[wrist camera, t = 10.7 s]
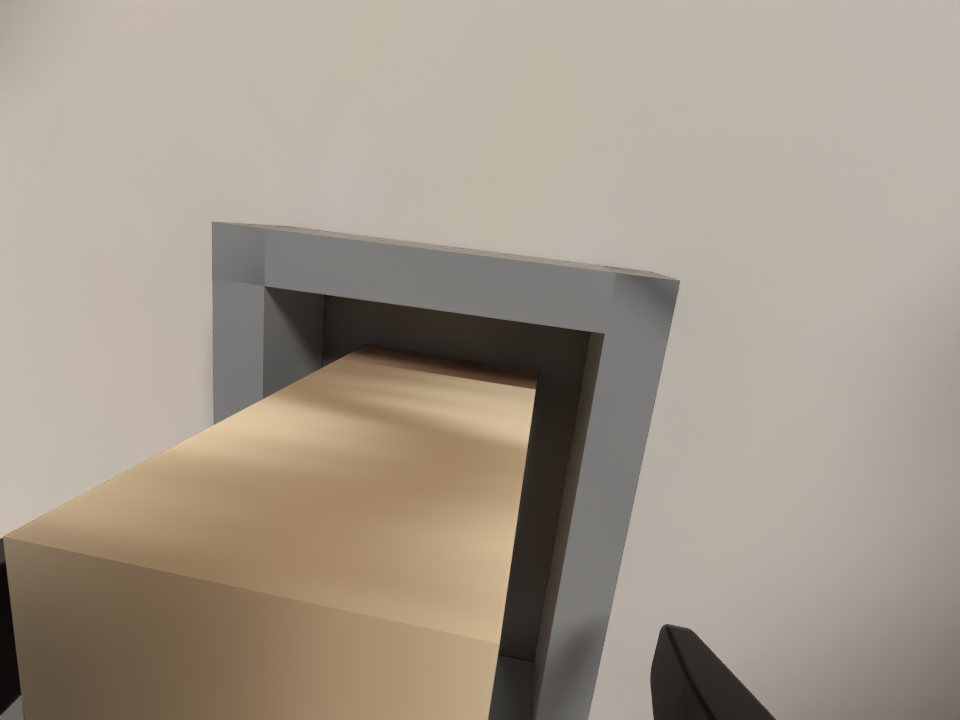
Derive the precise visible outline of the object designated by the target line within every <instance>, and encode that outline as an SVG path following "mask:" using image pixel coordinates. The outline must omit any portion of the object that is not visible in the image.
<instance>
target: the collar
mask: <svg viewBox="0 0 960 720" xmlns="http://www.w3.org/2000/svg"><path fill="white" fill-rule="evenodd" d="M212 280H213V390H214V425H215V424H217V423H219V422H221V421H223V420H224V419H226V418H228V417H230V416H232V415H234V414H236V413H238V412H240V411H241V410H243V409H245V408H247V407H249V406H251V405H253V404H255V403H257V402H258V401H260V400H262V399H264V398H266V397H268V396H270V395H272V394H274V393H276V392H277V391H279V390H281V389H283V388H285V387H287V386H289V385H291V384H293V383H294V382H296V381H298V380H300V379H302V378H304V377H306V376H308V375H310V374H312V373H313V372H315V371H317V370H319V369H321V368H322V352H323V329H324V307H325V295H332V296H339V297H346V298H353V299H360V300H368V301H375V302H382V303H389V304H396V305H403V306H410V307H418V308H425V309H432V310H439V311H446V312H453V313H460V314H468V315H475V316H482V317H489V318H496V319H503V320H511V321H518V322H525V323H532V324H539V325H546V326H553V327H561V328H568V329H575V330H582V331H589V332H591V335H590V341H589V347H588V352H587V358H586V364H585V370H584V376H583V381H582V387H581V393H580V399H579V405H578V410H577V416H576V422H575V428H574V433H573V439H572V445H571V451H570V457H569V462H568V468H567V474H566V480H565V486H564V491H563V497H562V503H561V509H560V515H559V520H558V526H557V532H556V538H555V544H554V549H553V555H552V561H551V567H550V573H549V578H548V584H547V590H546V596H545V601H544V607H543V613H542V619H541V625H540V630H539V636H538V642H537V648H536V654H535V659H534V663H533V662H529V661H524V660H519V659H515V658H510V657H506V656H501V655H498V658H497V664H496V671H495V677H494V684H493V690H492V697H491V703H490V709H489V716H488V720H588V717H589V712H590V707H591V703H592V698H593V693H594V688H595V684H596V679H597V674H598V669H599V665H600V660H601V655H602V650H603V646H604V641H605V636H606V631H607V626H608V622H609V617H610V612H611V607H612V603H613V598H614V593H615V588H616V584H617V579H618V574H619V569H620V565H621V560H622V555H623V550H624V546H625V541H626V536H627V531H628V527H629V522H630V517H631V512H632V508H633V503H634V498H635V493H636V489H637V484H638V479H639V474H640V470H641V465H642V460H643V455H644V451H645V446H646V441H647V436H648V432H649V427H650V422H651V417H652V413H653V408H654V403H655V398H656V393H657V389H658V384H659V379H660V374H661V370H662V365H663V360H664V355H665V351H666V346H667V341H668V336H669V332H670V327H671V322H672V317H673V313H674V308H675V303H676V298H677V294H678V289H679V284H680V280H676V279H673V278H670V277H667V276H663V275H660V274H657V273H653V272H648V271H640V270H632V269H624V268H616V267H608V266H600V265H592V264H584V263H576V262H568V261H560V260H552V259H544V258H535V257H527V256H519V255H511V254H503V253H495V252H487V251H479V250H471V249H463V248H455V247H447V246H439V245H431V244H423V243H415V242H407V241H399V240H391V239H383V238H375V237H367V236H359V235H351V234H343V233H335V232H327V231H319V230H311V229H303V228H295V227H287V226H273V225H256V224H240V223H224V222H212Z"/></svg>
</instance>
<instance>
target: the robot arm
mask: <svg viewBox="0 0 960 720" xmlns="http://www.w3.org/2000/svg"><path fill="white" fill-rule="evenodd" d="M650 683H651V694H652V705H653V715H654V720H776V719H775V718H774V717H773V716H772V715H771V714H770V712H769V711H768V710H767V709H766V708H765V707H764V706H763V705H762V704H761V703H760V702H759V701H758V700H757V699H756V698H755V696H754V695H753V694H752V693H751V692H750V691H749V690H748V689H747V688H746V687H745V686H744V685H743V684H742V683H741V682H740V680H739V679H738V678H737V677H736V676H735V675H734V674H733V673H732V672H731V671H730V670H729V669H728V668H727V667H726V666H725V664H724V663H723V662H722V661H721V660H720V659H719V658H718V657H717V656H716V655H715V654H714V653H713V652H712V651H711V650H710V648H709V647H708V646H707V645H706V644H705V643H704V642H703V641H702V640H701V639H700V638H699V637H698V636H697V635H696V634H695V633H694V632H693V631H692V630H691V629H688V628H684V627H679V626H674V625H669V624H666V625H664V626H663V627H662V628H661V630H660V633H659V638H658V642H657V646H656V650H655V654H654V658H653V662H652V667H651V676H650ZM20 695H21V687H20V679H19V670H18V662H17V653H16V645H15V636H14V628H13V619H12V610H11V602H10V593H9V585H8V576H7V568H6V559H5V551H4V542H3V538H1V539H0V716H1V715H2V714H3V713H4V712H5V711H6V710H7V709H8V707H9V706H10V705H11V704H12V703H13V702H14V701H15V700H16V699H17V698H18V697H19V696H20Z"/></svg>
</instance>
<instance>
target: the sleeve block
mask: <svg viewBox="0 0 960 720" xmlns="http://www.w3.org/2000/svg"><path fill="white" fill-rule="evenodd" d="M537 378H538V371H534V370H527V369H521V368H514V367H508V366H501V365H495V364H488V363H482V362H475V361H469V360H462V359H456V358H449V357H442V356H436V355H429V354H423V353H416V352H410V351H403V350H397V349H390V348H384V347H377V346H371V345H365V346H363V347H361V348H359V349H357V350H355V351H353V352H351V353H349V354H347V355H346V356H344V357H342V358H340V359H338V360H336V361H334V362H332V363H330V364H329V365H327V366H325V367H323V368H321V369H319V370H317V371H315V372H313V373H312V374H310V375H308V376H306V377H304V378H302V379H300V380H298V381H296V382H294V383H293V384H291V385H289V386H287V387H285V388H283V389H281V390H279V391H277V392H276V393H274V394H272V395H270V396H268V397H266V398H264V399H262V400H260V401H258V402H257V403H255V404H253V405H251V406H249V407H247V408H245V409H243V410H241V411H240V412H238V413H236V414H234V415H232V416H230V417H228V418H226V419H224V420H223V421H221V422H219V423H217V424H215V425H213V426H211V427H209V428H207V429H205V430H204V431H202V432H200V433H198V434H196V435H194V436H192V437H190V438H188V439H187V440H185V441H183V442H181V443H179V444H177V445H175V446H173V447H171V448H169V449H168V450H166V451H164V452H162V453H160V454H158V455H156V456H154V457H152V458H151V459H149V460H147V461H145V462H143V463H141V464H139V465H137V466H135V467H134V468H132V469H130V470H128V471H126V472H124V473H122V474H120V475H118V476H116V477H115V478H113V479H111V480H109V481H107V482H105V483H103V484H101V485H99V486H98V487H96V488H94V489H92V490H90V491H88V492H86V493H84V494H82V495H81V496H79V497H77V498H75V499H73V500H71V501H69V502H67V503H65V504H63V505H62V506H60V507H58V508H56V509H54V510H52V511H50V512H48V513H46V514H45V515H43V516H41V517H39V518H37V519H35V520H33V521H31V522H29V523H27V524H26V525H24V526H22V527H20V528H18V529H16V530H14V531H12V532H10V533H9V534H7V535H5V536H3V542H4V551H5V559H6V568H7V576H8V585H9V593H10V602H11V610H12V619H13V628H14V636H15V645H16V653H17V662H18V670H19V679H20V687H21V696H22V704H23V713H24V720H488V716H489V709H490V703H491V697H492V690H493V684H494V677H495V671H496V664H497V658H498V651H499V645H500V638H501V631H502V624H503V617H504V610H505V603H506V596H507V589H508V582H509V574H510V567H511V560H512V553H513V546H514V539H515V532H516V525H517V518H518V511H519V504H520V497H521V490H522V483H523V476H524V469H525V462H526V455H527V448H528V441H529V434H530V427H531V420H532V413H533V406H534V399H535V392H536V385H537Z"/></svg>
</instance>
